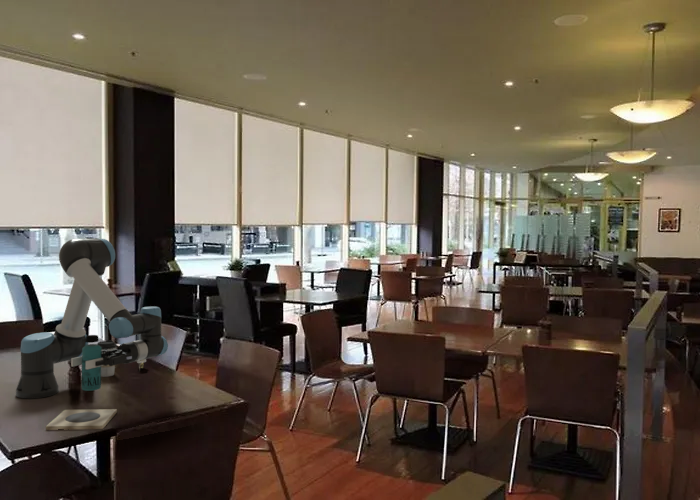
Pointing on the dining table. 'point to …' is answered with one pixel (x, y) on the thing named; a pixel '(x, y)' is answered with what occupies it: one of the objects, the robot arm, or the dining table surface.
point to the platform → (141, 363)
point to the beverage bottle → (93, 375)
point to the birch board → (82, 419)
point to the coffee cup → (109, 346)
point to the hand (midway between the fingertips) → (79, 363)
